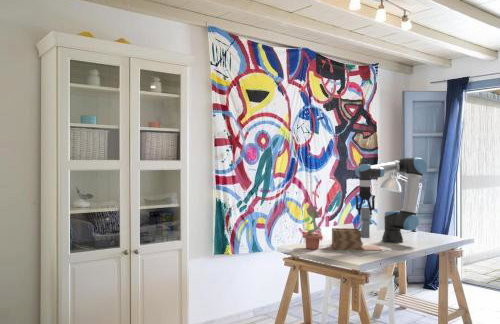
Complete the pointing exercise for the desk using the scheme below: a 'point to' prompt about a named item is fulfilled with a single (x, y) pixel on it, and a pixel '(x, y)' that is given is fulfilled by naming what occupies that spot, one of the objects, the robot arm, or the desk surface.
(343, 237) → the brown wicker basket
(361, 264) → the desk surface
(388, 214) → the robot arm
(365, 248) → the tile
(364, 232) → the grey tall block
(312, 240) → the decorative flower
